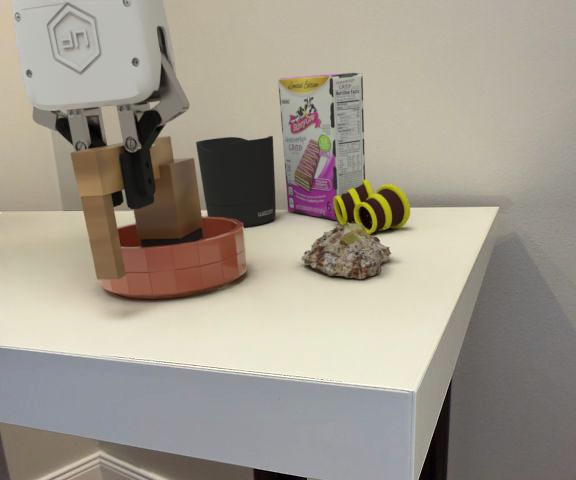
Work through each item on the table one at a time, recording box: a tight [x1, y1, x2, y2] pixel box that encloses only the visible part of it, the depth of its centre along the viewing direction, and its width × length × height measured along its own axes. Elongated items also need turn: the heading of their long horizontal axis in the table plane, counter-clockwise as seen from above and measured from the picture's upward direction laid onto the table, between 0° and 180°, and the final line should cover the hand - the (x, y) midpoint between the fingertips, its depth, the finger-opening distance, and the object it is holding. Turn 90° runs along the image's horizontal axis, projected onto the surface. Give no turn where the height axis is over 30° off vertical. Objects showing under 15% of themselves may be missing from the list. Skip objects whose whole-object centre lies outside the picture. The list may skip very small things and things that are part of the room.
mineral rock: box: [301, 222, 392, 280], centre depth 60 cm, size 11×4×8 cm
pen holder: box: [195, 135, 277, 228], centre depth 82 cm, size 9×9×10 cm
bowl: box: [99, 215, 248, 300], centre depth 59 cm, size 13×13×4 cm
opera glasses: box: [333, 179, 411, 235], centre depth 74 cm, size 10×5×5 cm, turn 22°
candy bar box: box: [277, 72, 366, 221], centre depth 82 cm, size 11×5×16 cm, turn 34°
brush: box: [69, 135, 203, 281], centre depth 53 cm, size 14×4×9 cm, turn 164°
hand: (125, 205), depth 50 cm, fingers closed on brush, 2 cm apart
